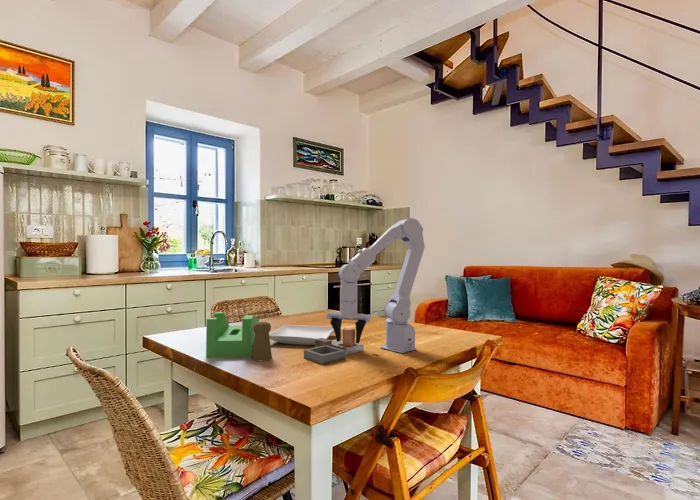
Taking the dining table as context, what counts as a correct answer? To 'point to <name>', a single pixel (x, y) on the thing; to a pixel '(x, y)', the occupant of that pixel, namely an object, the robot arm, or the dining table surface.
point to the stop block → (322, 342)
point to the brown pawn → (261, 342)
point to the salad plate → (300, 334)
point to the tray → (324, 354)
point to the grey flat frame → (348, 350)
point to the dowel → (348, 337)
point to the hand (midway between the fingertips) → (348, 341)
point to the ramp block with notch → (229, 336)
